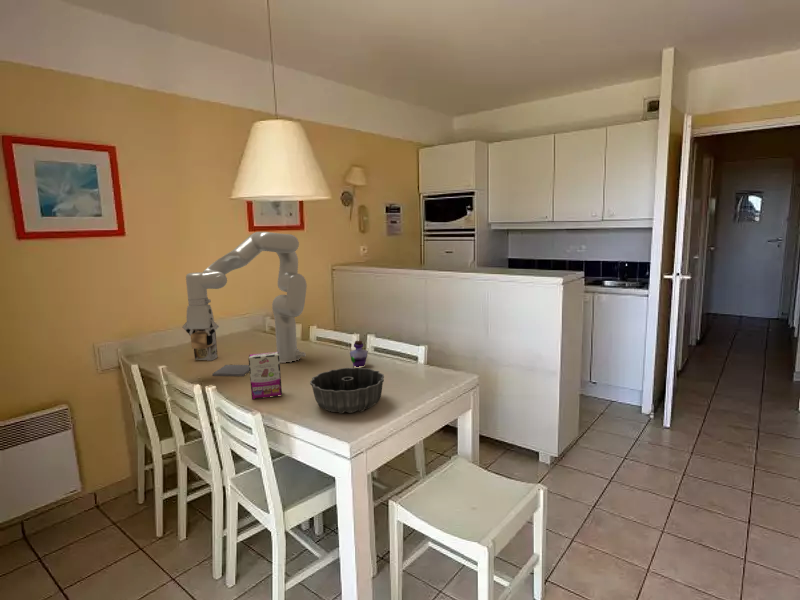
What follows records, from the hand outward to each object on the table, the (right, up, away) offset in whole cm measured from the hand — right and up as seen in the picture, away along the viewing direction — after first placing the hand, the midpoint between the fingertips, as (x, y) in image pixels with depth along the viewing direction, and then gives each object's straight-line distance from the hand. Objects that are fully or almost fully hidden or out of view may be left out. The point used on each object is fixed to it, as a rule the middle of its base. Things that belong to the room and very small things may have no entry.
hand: (202, 343), depth 198 cm
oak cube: (0, -1, 0) cm, 1 cm away
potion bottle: (+65, -12, +16) cm, 68 cm away
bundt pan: (+65, -19, -29) cm, 74 cm away
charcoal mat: (+10, -13, +12) cm, 20 cm away
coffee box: (-12, -11, +33) cm, 36 cm away
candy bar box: (+33, -18, -19) cm, 42 cm away
